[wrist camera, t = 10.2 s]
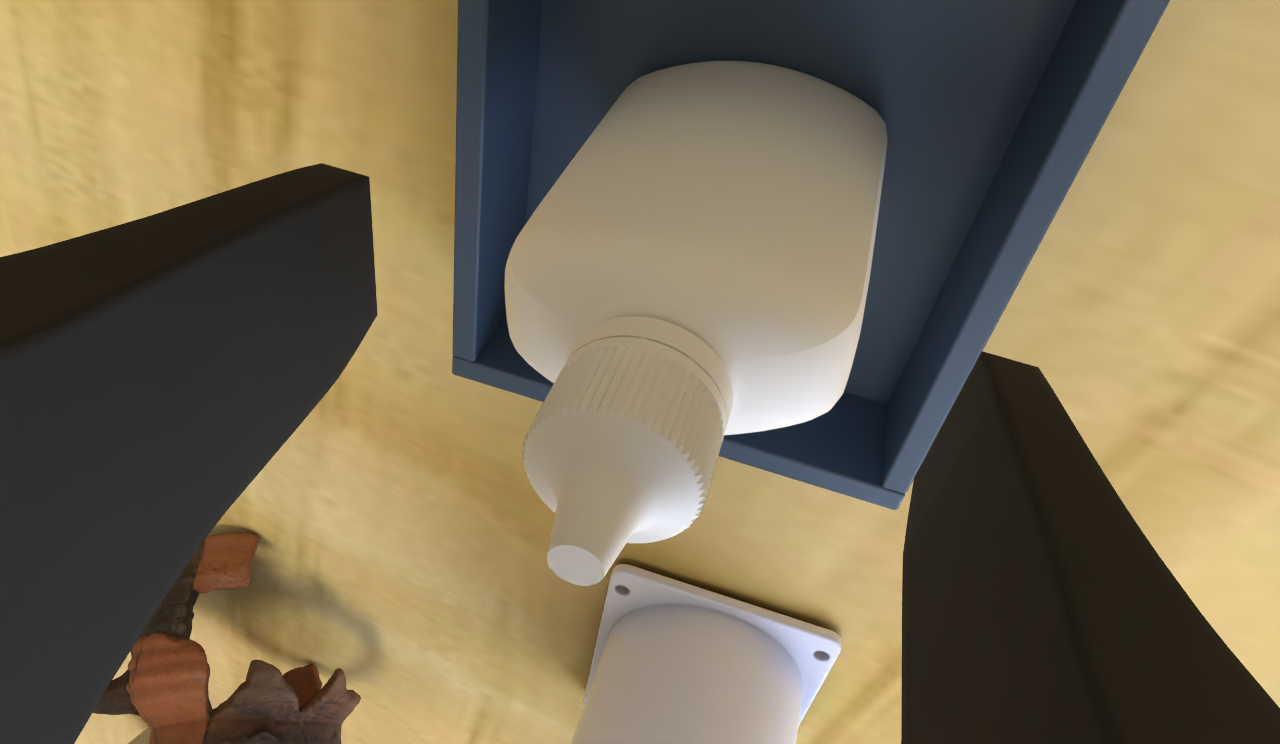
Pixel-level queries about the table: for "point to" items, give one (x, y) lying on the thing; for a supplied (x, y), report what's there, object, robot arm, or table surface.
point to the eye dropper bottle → (689, 292)
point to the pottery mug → (179, 673)
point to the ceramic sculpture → (142, 738)
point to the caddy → (911, 189)
